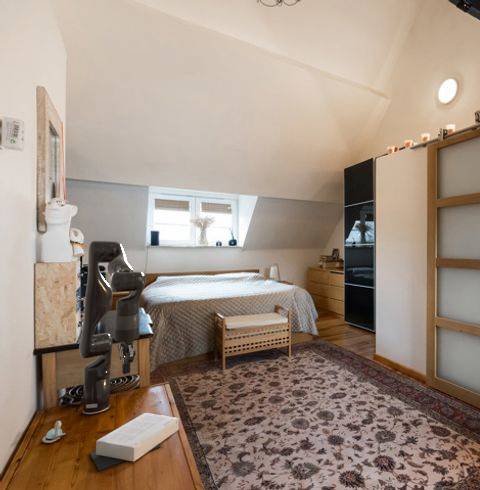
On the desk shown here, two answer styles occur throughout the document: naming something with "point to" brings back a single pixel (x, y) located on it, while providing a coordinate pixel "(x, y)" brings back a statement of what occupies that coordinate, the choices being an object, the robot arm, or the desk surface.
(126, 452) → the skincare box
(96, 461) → the dark rubber mat
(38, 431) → the desk surface
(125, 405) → the desk surface
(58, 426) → the pacifier
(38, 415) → the desk surface
